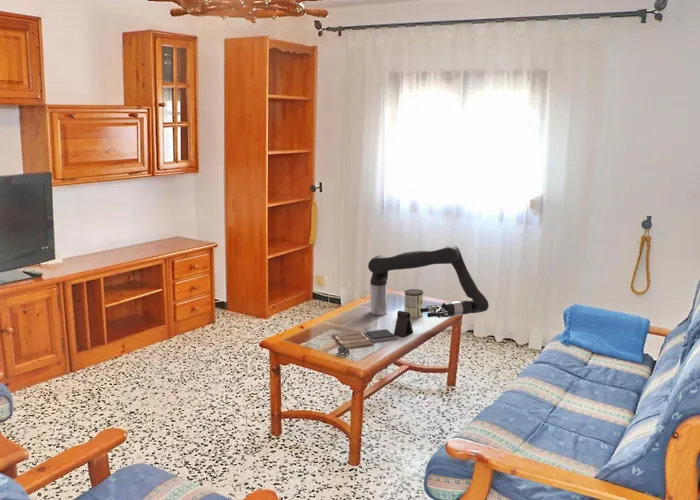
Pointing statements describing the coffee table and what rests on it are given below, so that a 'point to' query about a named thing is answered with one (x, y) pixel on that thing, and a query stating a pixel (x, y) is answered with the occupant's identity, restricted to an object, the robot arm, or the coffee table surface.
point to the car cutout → (343, 350)
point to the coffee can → (414, 302)
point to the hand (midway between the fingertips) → (424, 312)
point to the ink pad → (380, 335)
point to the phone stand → (403, 324)
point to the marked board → (352, 339)
